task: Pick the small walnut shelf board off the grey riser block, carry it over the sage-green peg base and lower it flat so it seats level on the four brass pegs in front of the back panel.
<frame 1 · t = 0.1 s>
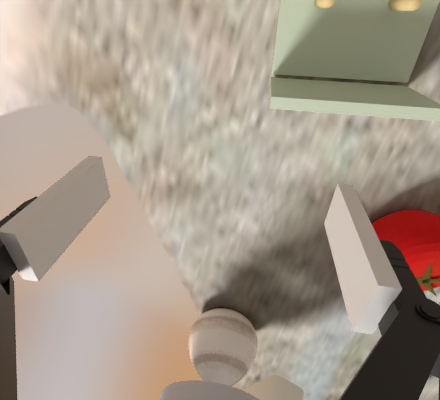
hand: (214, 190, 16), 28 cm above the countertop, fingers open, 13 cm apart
lamp: (226, 318, 71), on the countertop
tomato: (393, 226, 48), on the countertop
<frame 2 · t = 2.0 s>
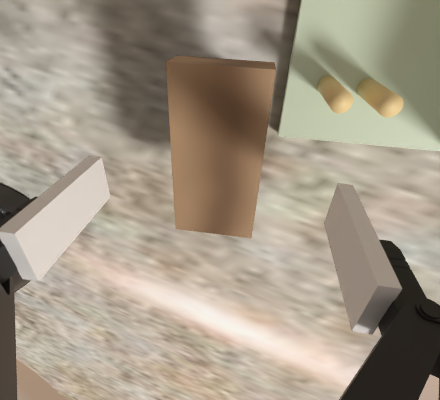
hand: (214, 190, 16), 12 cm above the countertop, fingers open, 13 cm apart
shelf board: (220, 149, 20), point 6 cm above the countertop, touching riser
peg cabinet: (360, 24, 20), on the countertop
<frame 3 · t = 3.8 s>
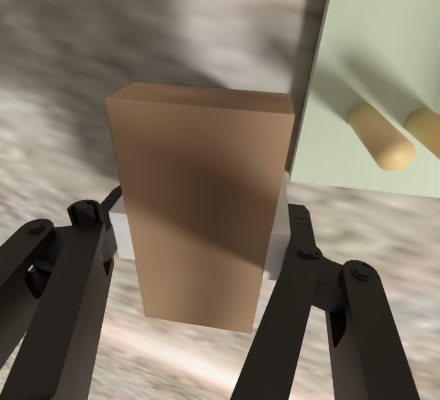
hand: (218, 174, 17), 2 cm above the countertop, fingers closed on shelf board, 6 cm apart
shelf board: (207, 212, 14), point 6 cm above the countertop, touching gripper, riser
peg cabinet: (415, 31, 13), on the countertop
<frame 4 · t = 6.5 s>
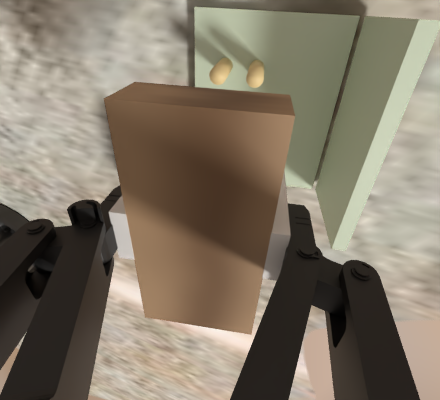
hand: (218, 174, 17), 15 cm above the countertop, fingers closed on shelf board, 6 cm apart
shelf board: (207, 212, 14), point 19 cm above the countertop, touching gripper
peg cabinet: (238, 106, 29), on the countertop
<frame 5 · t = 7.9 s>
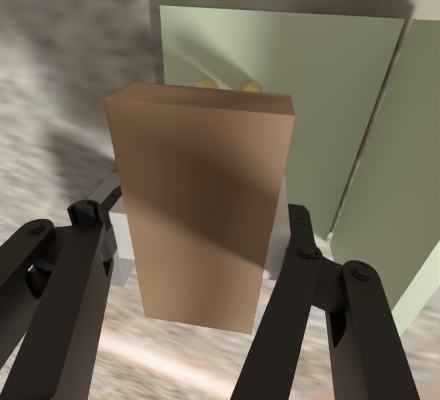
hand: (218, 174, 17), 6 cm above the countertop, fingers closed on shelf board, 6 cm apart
riser: (131, 208, 27), on the countertop
shelf board: (207, 212, 14), point 10 cm above the countertop, touching gripper
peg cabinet: (227, 140, 22), on the countertop
when the fingers open (4 cm above the countertop, at t = 9.1 s): shelf board drops 2 cm, resting on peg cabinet.
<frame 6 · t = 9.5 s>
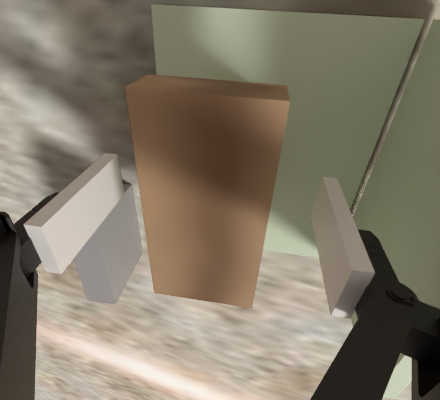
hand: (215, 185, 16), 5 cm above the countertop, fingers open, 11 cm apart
riser: (125, 219, 26), on the countertop
shelf board: (212, 195, 15), point 6 cm above the countertop, touching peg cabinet
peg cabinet: (226, 150, 20), on the countertop
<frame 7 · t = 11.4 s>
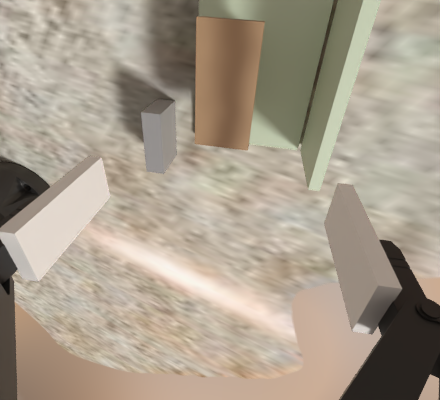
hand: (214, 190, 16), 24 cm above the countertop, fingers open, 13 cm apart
riser: (167, 128, 40), on the countertop
shelf board: (228, 85, 30), point 6 cm above the countertop, touching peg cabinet
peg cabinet: (234, 74, 34), on the countertop
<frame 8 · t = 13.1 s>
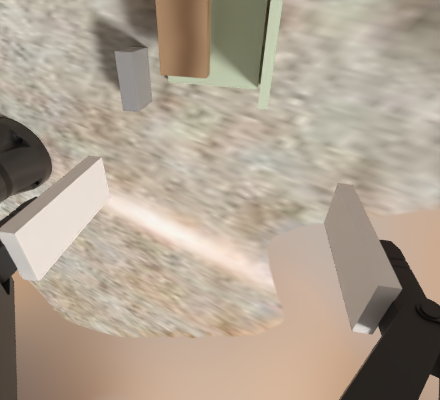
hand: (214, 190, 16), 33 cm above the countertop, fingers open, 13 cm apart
riser: (142, 75, 45), on the countertop
shelf board: (186, 20, 34), point 6 cm above the countertop, touching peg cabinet
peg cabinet: (197, 19, 39), on the countertop
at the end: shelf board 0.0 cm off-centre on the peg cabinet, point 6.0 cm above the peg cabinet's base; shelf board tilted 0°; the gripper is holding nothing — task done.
